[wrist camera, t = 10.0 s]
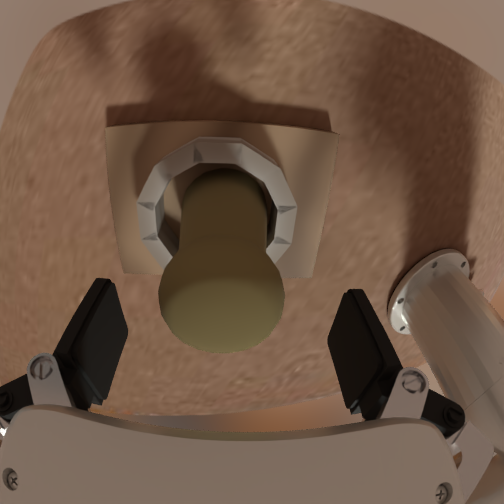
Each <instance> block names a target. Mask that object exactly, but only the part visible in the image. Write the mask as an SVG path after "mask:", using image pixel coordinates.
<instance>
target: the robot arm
mask: <svg viewBox="0 0 504 504" xmlns="http://www.w3.org/2000/svg"><path fill="white" fill-rule="evenodd" d="M469 273H470V270H469V263H468V260H467V259H466V258H465V256H464V255H462V254H461V253H460V252H459V251H457V250H455V249H444V250H439V251H437V252H435V253H432V254H430V255H429V256H427V257H425V258H424V259H422V260H421V261H420V262H419V263H417V264H416V265H415V266H414V267H413V268H412V269H411V270H410V271H409V272H408V273H407V274H406V275H405V276H404V278H403V279H402V280H401V281H400V283H399V284H398V286H397V287H396V289H395V291H394V293H393V295H392V297H391V299H390V302H389V305H388V320H389V322H390V324H391V326H392V327H393V328H394V330H395V331H397V332H398V333H402V334H412V336H413V338H414V339H415V341H416V343H417V345H418V346H419V348H420V350H421V352H422V354H423V355H424V357H425V359H426V361H427V363H428V365H429V366H430V368H431V370H432V372H433V374H434V376H435V378H436V380H437V382H438V384H439V386H440V388H441V390H442V392H443V394H444V396H445V397H444V396H442V395H440V394H438V393H436V392H434V391H433V390H430V389H429V381H428V378H427V377H426V375H425V374H424V373H423V372H422V371H420V370H419V369H417V368H414V367H406V368H404V369H403V367H402V365H401V363H400V360H399V358H398V356H397V354H396V352H395V350H394V348H393V346H392V344H391V342H390V340H389V338H388V336H387V334H386V332H385V330H384V328H383V326H382V324H381V322H380V321H379V319H378V317H377V315H376V313H375V311H374V309H373V307H372V305H371V303H370V302H369V300H368V298H367V296H366V294H365V292H364V291H363V290H362V289H349V290H348V291H347V293H344V294H343V297H342V300H341V303H340V305H339V308H338V311H337V314H336V316H335V319H334V322H333V325H332V327H331V330H330V332H329V335H328V347H329V350H330V353H331V356H332V360H333V363H334V367H335V370H336V374H337V377H338V381H339V384H340V388H341V391H342V395H343V398H344V402H345V405H346V408H348V409H349V408H350V412H351V414H357V413H362V417H363V420H362V422H359V423H352V424H346V425H340V426H332V427H324V428H316V429H306V430H295V431H280V432H215V431H200V430H188V429H179V428H170V427H163V426H156V425H149V424H143V423H138V422H132V421H128V420H122V419H118V418H113V417H109V416H104V415H100V414H96V413H92V412H91V410H90V406H91V403H93V404H97V405H101V406H102V403H103V400H106V399H107V397H108V393H109V390H110V387H111V384H112V380H113V377H114V374H115V371H116V368H117V365H118V362H119V359H120V356H121V353H122V350H123V347H124V345H125V342H126V339H127V336H128V328H127V325H126V321H125V318H124V315H123V312H122V308H121V305H120V301H119V298H118V294H117V290H116V287H115V284H114V283H112V282H111V280H110V279H105V278H96V280H95V281H94V283H93V284H92V286H91V287H90V289H89V290H88V292H87V294H86V295H85V297H84V299H83V300H82V302H81V304H80V305H79V307H78V309H77V310H76V312H75V314H74V315H73V317H72V319H71V321H70V322H69V324H68V326H67V328H66V330H65V332H64V333H63V335H62V337H61V339H60V341H59V343H58V345H57V347H56V349H55V351H54V353H53V355H51V354H49V353H40V354H38V355H36V356H34V357H33V358H32V359H31V360H30V362H29V363H28V366H27V374H25V375H23V376H21V377H19V378H17V379H15V380H13V381H11V382H9V383H7V384H5V385H3V386H1V387H0V504H504V320H503V319H502V318H501V317H500V315H499V314H498V313H497V311H496V310H495V309H494V308H493V306H492V305H491V304H490V303H489V302H488V300H487V299H486V298H485V297H484V291H483V290H482V289H477V288H476V287H475V285H474V284H473V283H472V282H471V281H470V280H469ZM494 452H495V453H497V454H496V455H495V456H493V454H494Z"/></svg>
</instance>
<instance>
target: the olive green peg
mask: <svg viewBox="0 0 504 504" xmlns="http://www.w3.org/2000/svg"><path fill="white" fill-rule="evenodd" d="M266 242H267V203H266V199H265V194H264V192H263V190H262V189H261V187H260V186H259V184H258V182H257V181H255V180H254V179H253V178H252V177H250V176H249V175H248V174H246V173H244V172H241V171H238V170H235V169H227V168H218V169H214V170H211V171H207V172H205V173H203V174H202V175H200V176H199V177H197V178H196V179H194V180H193V182H192V183H191V184H190V186H189V187H188V188H187V190H186V192H185V195H184V198H183V201H182V211H181V225H180V241H179V251H178V252H177V253H176V254H175V255H174V256H173V258H172V259H171V260H170V262H169V263H168V264H167V265H166V267H165V269H164V272H163V275H162V278H161V282H160V286H159V290H158V294H159V304H160V310H161V315H162V317H163V318H164V320H165V322H166V323H167V325H168V327H169V328H170V330H171V331H172V333H173V334H174V335H175V336H176V337H177V338H179V339H180V340H181V341H182V342H183V343H185V344H187V345H189V346H191V347H194V348H196V349H198V350H202V351H207V352H211V353H233V352H238V351H244V350H246V349H249V348H251V347H253V346H256V345H258V344H259V343H261V342H262V341H263V340H265V339H266V338H267V337H268V336H269V335H270V334H271V332H272V331H273V329H274V328H275V326H276V325H277V323H278V322H279V320H280V319H281V316H282V311H283V306H284V299H285V292H284V288H283V283H282V279H281V275H280V272H279V270H278V268H277V267H276V265H275V264H274V263H273V261H272V260H271V258H270V257H269V256H268V254H267V253H266Z"/></svg>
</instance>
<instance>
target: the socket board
mask: <svg viewBox="0 0 504 504" xmlns="http://www.w3.org/2000/svg"><path fill="white" fill-rule="evenodd" d="M339 135H340V134H337V133H335V132H332V131H326V130H319V129H313V128H305V127H298V126H289V125H280V124H269V123H257V122H241V121H213V120H186V121H158V122H142V123H130V124H120V125H113V126H109V127H106V128H105V139H106V157H107V170H108V180H109V190H110V198H111V206H112V213H113V220H114V226H115V232H116V238H117V243H118V249H119V254H120V259H121V263H122V268H123V273H130V274H152V275H163V272H164V269H165V267H166V265H167V264H168V263H169V262H170V260H171V259H172V258H173V256H174V255H175V254H176V253H177V252H178V251H179V241H180V225H181V211H182V201H183V198H184V195H185V192H186V190H187V188H188V187H189V186H190V184H191V183H192V182H193V180H194V179H196V178H197V177H199V176H200V175H202V174H203V173H205V172H207V171H211V170H214V169H218V168H227V169H235V170H238V171H241V172H244V173H246V174H248V175H249V176H250V177H252V178H253V179H254V180H255V181H257V182H258V184H259V186H260V187H261V189H262V190H263V192H264V194H265V199H266V203H267V242H266V253H267V254H268V256H269V257H270V258H271V260H272V261H273V263H274V264H275V265H276V267H277V268H278V270H279V272H280V275H281V278H312V273H313V269H314V265H315V261H316V257H317V252H318V248H319V243H320V239H321V234H322V229H323V225H324V220H325V215H326V210H327V205H328V200H329V195H330V189H331V184H332V178H333V173H334V167H335V161H336V155H337V148H338V142H339Z"/></svg>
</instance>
